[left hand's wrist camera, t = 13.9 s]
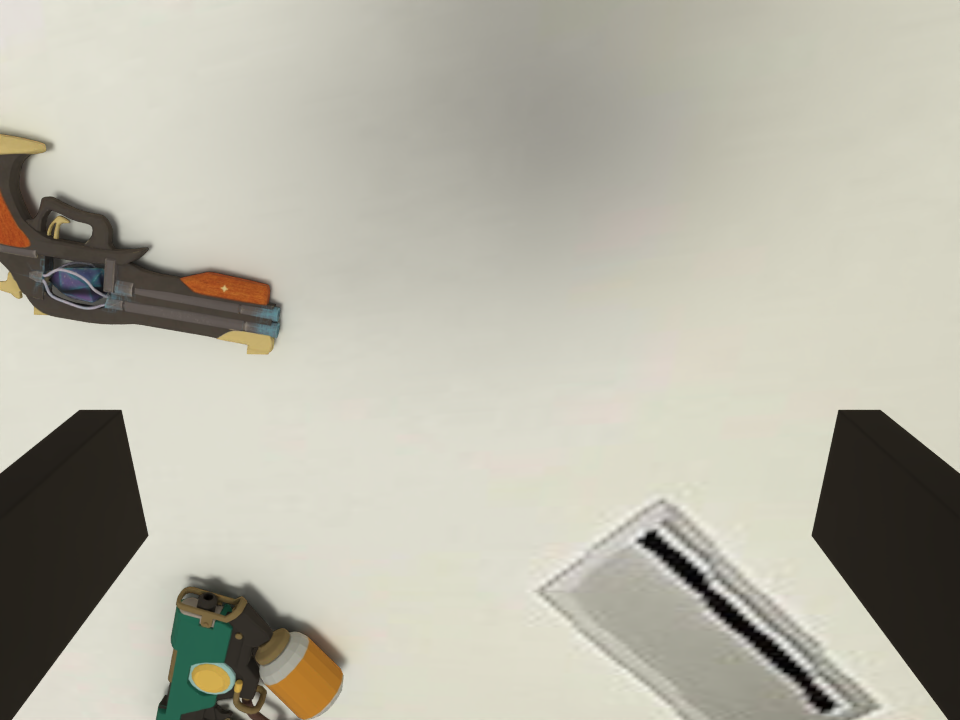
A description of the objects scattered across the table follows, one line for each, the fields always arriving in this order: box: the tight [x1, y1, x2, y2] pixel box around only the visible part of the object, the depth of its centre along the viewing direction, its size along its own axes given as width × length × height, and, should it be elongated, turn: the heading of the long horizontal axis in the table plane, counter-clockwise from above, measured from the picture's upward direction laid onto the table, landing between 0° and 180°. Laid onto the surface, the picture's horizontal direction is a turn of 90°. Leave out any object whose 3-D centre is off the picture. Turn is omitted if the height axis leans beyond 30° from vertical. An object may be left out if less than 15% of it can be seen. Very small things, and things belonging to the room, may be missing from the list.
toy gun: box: [0, 134, 280, 354], centre depth 40 cm, size 3×19×10 cm
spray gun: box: [156, 587, 344, 720], centre depth 52 cm, size 4×17×15 cm
